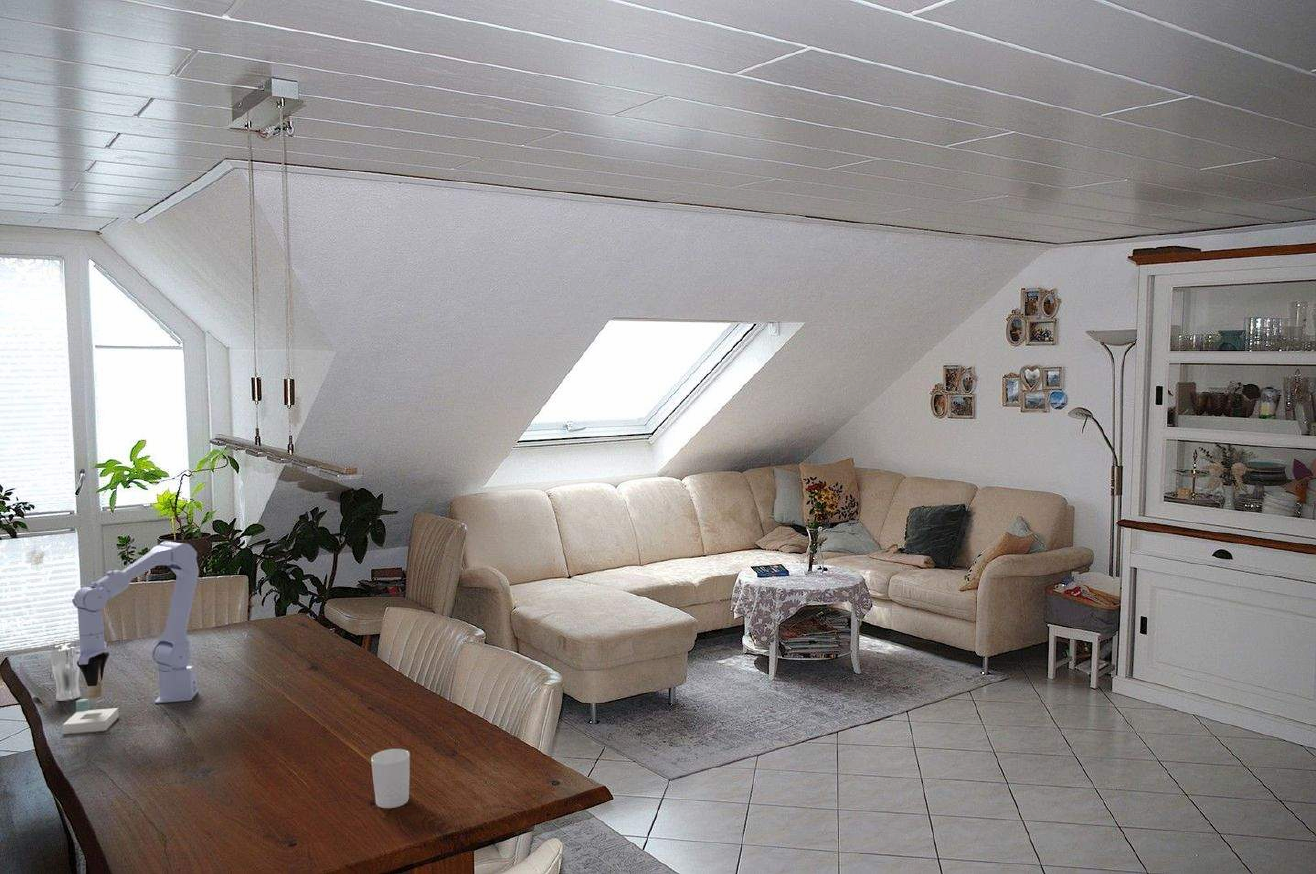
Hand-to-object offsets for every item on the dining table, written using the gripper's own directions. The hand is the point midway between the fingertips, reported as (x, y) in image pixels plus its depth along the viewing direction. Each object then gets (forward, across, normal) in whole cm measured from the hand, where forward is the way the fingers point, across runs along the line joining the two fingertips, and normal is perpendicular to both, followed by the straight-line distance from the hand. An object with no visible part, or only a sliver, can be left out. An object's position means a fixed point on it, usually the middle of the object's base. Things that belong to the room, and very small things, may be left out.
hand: (94, 683), depth 262 cm
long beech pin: (+3, 0, 0) cm, 3 cm away
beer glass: (+10, -23, -15) cm, 29 cm away
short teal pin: (+10, -5, -5) cm, 13 cm away
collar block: (+10, +3, 0) cm, 11 cm away
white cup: (+10, +68, +80) cm, 106 cm away
